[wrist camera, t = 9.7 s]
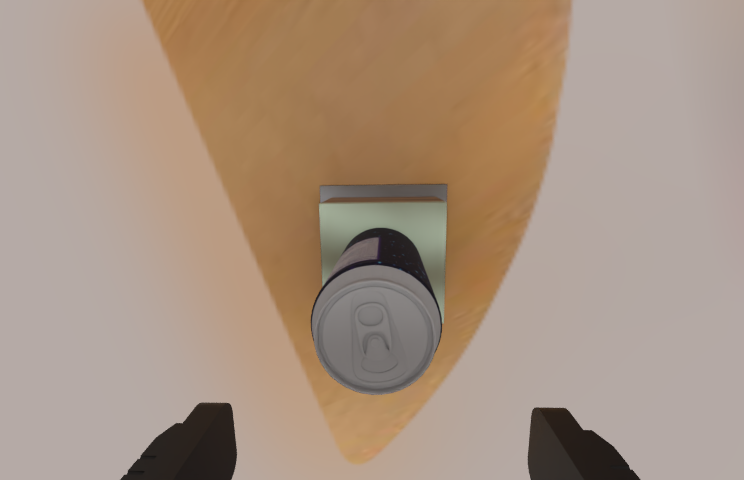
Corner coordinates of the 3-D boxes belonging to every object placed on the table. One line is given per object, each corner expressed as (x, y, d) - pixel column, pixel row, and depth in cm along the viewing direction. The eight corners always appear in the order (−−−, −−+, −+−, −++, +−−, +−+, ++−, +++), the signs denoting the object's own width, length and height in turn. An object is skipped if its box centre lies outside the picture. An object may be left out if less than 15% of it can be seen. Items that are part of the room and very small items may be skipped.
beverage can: (350, 306, 27) (318, 411, 15) (335, 232, 26) (290, 282, 14) (425, 295, 26) (455, 395, 14) (414, 219, 25) (436, 260, 13)
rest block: (321, 185, 32) (304, 189, 25) (445, 184, 32) (461, 187, 25) (326, 301, 34) (311, 335, 27) (442, 301, 34) (456, 335, 27)
